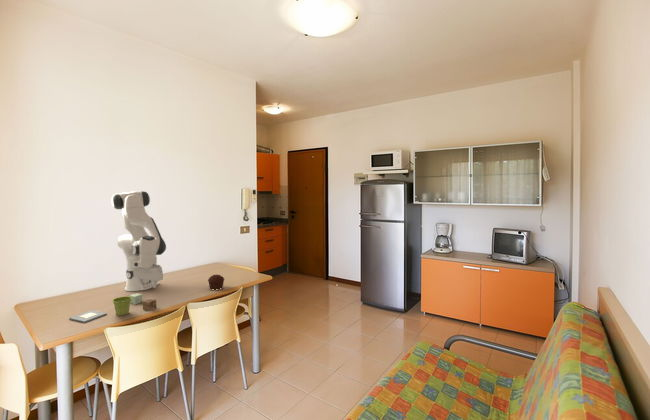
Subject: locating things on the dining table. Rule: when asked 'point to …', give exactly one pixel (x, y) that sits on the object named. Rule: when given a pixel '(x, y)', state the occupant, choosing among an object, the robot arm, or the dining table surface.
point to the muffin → (216, 282)
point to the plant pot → (122, 305)
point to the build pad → (88, 316)
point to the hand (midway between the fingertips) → (148, 286)
